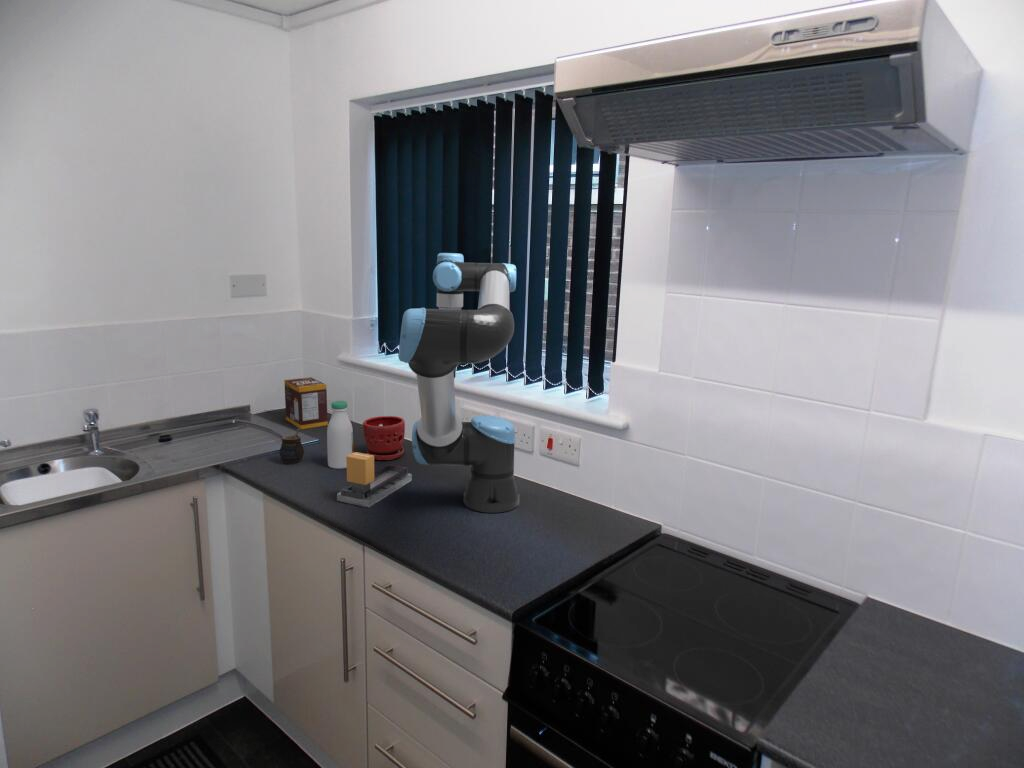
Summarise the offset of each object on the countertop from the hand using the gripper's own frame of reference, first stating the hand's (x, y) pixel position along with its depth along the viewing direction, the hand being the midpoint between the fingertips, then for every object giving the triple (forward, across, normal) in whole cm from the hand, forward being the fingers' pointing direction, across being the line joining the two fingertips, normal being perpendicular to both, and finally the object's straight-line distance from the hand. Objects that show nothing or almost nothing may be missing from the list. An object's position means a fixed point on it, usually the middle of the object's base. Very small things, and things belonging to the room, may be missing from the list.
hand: (449, 388), depth 195 cm
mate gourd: (+27, +41, +28) cm, 56 cm away
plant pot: (+27, +26, +4) cm, 37 cm away
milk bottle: (+27, +28, +19) cm, 43 cm away
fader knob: (+24, +2, +30) cm, 39 cm away
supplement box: (+27, +76, +2) cm, 81 cm away
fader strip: (+26, +4, +24) cm, 36 cm away
